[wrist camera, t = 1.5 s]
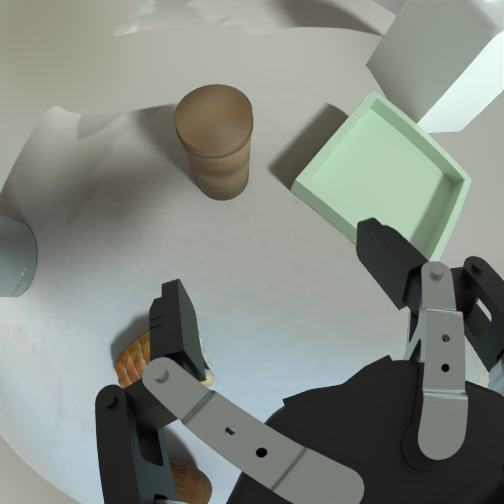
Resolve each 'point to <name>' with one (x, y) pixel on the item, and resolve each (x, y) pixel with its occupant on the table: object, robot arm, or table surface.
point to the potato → (190, 483)
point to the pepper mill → (217, 138)
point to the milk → (442, 61)
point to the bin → (386, 178)
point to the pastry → (147, 362)
